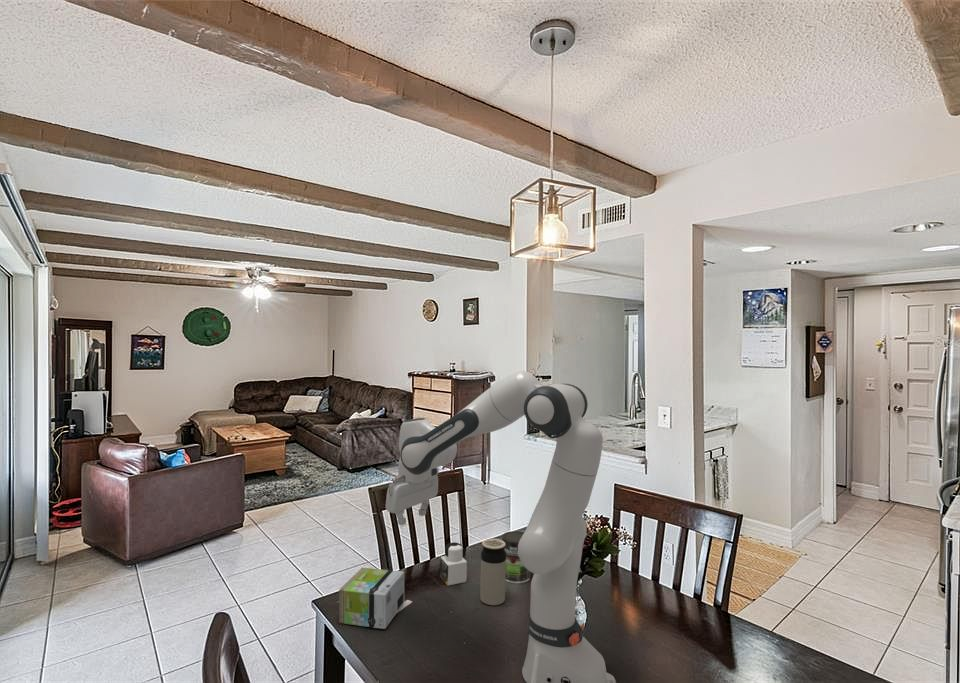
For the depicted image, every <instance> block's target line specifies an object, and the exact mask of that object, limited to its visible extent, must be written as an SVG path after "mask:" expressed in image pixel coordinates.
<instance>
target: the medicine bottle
mask: <svg viewBox="0 0 960 683" xmlns="http://www.w3.org/2000/svg"><path fill="white" fill-rule="evenodd" d="M463 550H464V548H463V545H462V544H461V543H459V542H456V541H455V542H449V543H447V544H445V548H444V555H443V556H440V571H439V572H440V578H441V580H443V582H444V583H445V584H446V586H452V585H458V584H462V583H467V577H468V576H467V573H468V560H466V559H465V558H464V557H463V555H464V554H463V552H464V551H463Z"/></svg>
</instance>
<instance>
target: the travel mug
mask: <svg viewBox="0 0 960 683" xmlns="http://www.w3.org/2000/svg"><path fill="white" fill-rule="evenodd" d="M481 545H482V547H483V548H482V551H481V553H480V585H479V588H480V593H479V599H480V601H481V602H482V603H483V604H486V605H490V606H499V605H501V604H503V603H504V602H505V601H506V581H505V580H506V552H505V550H504V547H505V545H506V544H505V542H504V541H502V539H499V538H488V539H484V540H483V541H482V543H481Z"/></svg>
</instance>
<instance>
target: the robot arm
mask: <svg viewBox="0 0 960 683" xmlns="http://www.w3.org/2000/svg"><path fill="white" fill-rule="evenodd" d="M588 404H589V402H588V398H587V396H586V394H585V392H584V391H583V390H582V389H581V388H579V387H578V386H576V385H574V384H570V383H550V384H547V385H543V384H541V382H540V381H539V379H538V378H537V377H536V376H535V375H534V374H532V373H531V372H529V371H525V370H520V371H516V372H514V373H512V374H510V375H508V376H507V377H504V378H502V379H501V380H499V381H498V382H496V383H495V384H493V385H492V386H491V387H489V388H487V390H485V391H483V392H482V393H481V394H479V396H478V397H476V398H475V399H474V400H472V401H471V402H470V403H469V404H468V405H466V406H465V407H464V408H462V409H461V410H460V411H458V412H457V413H456V414H455V415H453V416H451V417H450V418H449V419H447V420H445V421H444V422H443V423H441V424H439V425H438V426H434V425H433V424H431V422H430V421H429V420H428V419H427V418H425V417H417V418H411V419H406V420H404V421H403V422H402V423H401V425H400V428H399V430H400V431H399V438H398V451H399V460H398V470H397V473H398V475H397V476H398V477H397V478H393V479H392V480H391V482H390V483H389V484H388V488H387V491H386V499H385V510H386V512H388V513H391V514H395V516H396V518H397V525H398V526H400V527H401V526H404V525H406V523H407V518H406V517H404V514H405V510H407V509H410V508H413V507H414V506H417V505H419V504H420V508H419V509H418V515H419V517H420V516H421V517H423V516H425V515H427V509H428V506H429V504H430V500H431V499H435V498H436V497H437V495H438V494H439V493H438V492H439V476H438V475H439V470H440V469H439V467H441V466H445V465H448V464H450V463H452V462H453V461H454V460H455V459H456V457H457V454H458V450H459V449H458V443H459V442H461V441H463V440H466V439H468V438H471V437H475V436H479V435H485V434H490V433H492V432H496V431H498V430H501V429H504V428H506V427H508V426H510V425H512V424H513V423H515V422H516V421H518V420H519V419H521V418H522V417H525V419H526V421H527V422H528V423H529V424H530V425H531V426H532V427H534V428H535V429H537V430H538V431H540V432H542V433H543V435H545V436H547V437H548V438H549V439H556V442H555V449H554V453H553V455H552V460H551V464H550V466H549V469H548V470H549V471H548V474H547V477H546V480H545V481H546V482H545V485H544V486H543V487H544V488H543V490H542V492H541V495H540V497H539V499H538V502H537V503H536V506H535V508H534V510H533V513H532V514H531V517H530V518H529V522H528V524H527V525H526V528H525V531H524V532H523V533H524V534H523V536H522V537H521V539H520V541H519V544H518V555H519V558H520V561H521V562H522V564H523V565H524V567H525V568H526V569H527V570H529V571H530V573H532V574H533V575H532V578H531V583H530V598H529V600H530V602H529V603H530V604H529V608H530V609H529V613H528V618H527V619H528V620H527V635H528V641H527V642H528V643H527V647H526V648H527V649H526V655H525V659H524V662H523V666H522V669H521V673H522V677H523V679H524V681H525V683H617V681H616V679H615V677H614V676H613V675H612V674H611V673H609V672H607V667H606V661H605V659H604V656H603V655H602V654H601V653H600V652H599V651H598V650H597V649H596V648H595V647H594V646H593V645H592V644H591V643H590V642H589V641H588V640H587V639H586V638H585V636H583V631H584V629H585V622H583V623H582V624H580V623H579V622H578V620H577V617H576V603H577V602H576V596H577V595H576V594H577V584H578V578H579V573H580V568H581V563H582V562H581V561H582V555H583V548H584V542H585V539H586V536H587V532H588V530H587V529H588V526H587V522H586V520H585V518H584V517H583V514H584V513H585V511H586V509H587V507H588V505H589V502H590V500H591V496H592V492H593V489H594V485H595V481H596V478H597V475H598V473H599V472H598V471H599V467H600V463H601V458H602V450H603V440H604V438H603V433H602V431H601V430H600V429H599V427H597V426H596V425H595V424H593V423H591V422H589V421H586V420H585V419H584V418H583V417H584V416H585V415H586V413H587V411H588V407H589V406H588Z"/></svg>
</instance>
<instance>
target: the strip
mask: <svg viewBox="0 0 960 683" xmlns="http://www.w3.org/2000/svg"><path fill="white" fill-rule="evenodd" d="M410 604H413V601H412V600H410V599H406V600H404V604H403V605H402V606H401V608H400V609H399V610H398V612H397V613H396V614H398V613H399V612H401V611H402V610H404V609H405V608H406V607H408V606H410ZM371 628H372V629H375V628H374V627H371Z"/></svg>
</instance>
